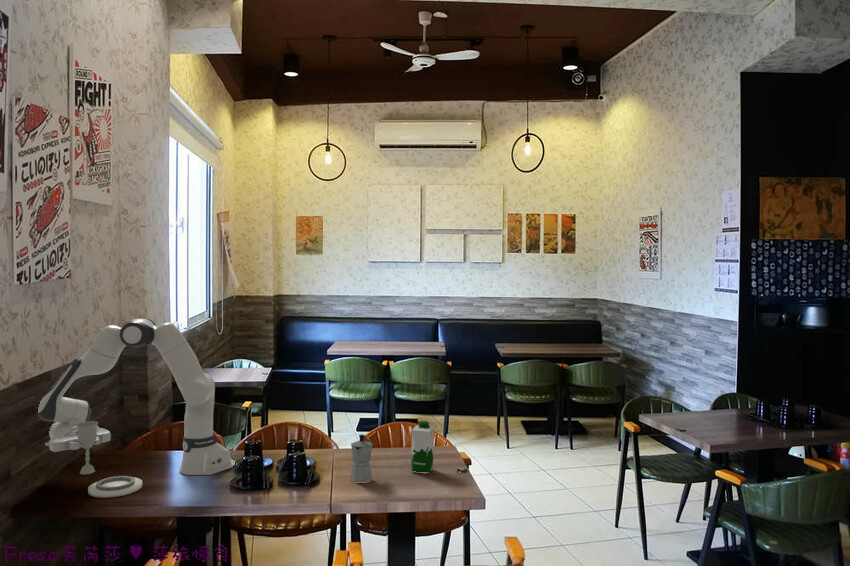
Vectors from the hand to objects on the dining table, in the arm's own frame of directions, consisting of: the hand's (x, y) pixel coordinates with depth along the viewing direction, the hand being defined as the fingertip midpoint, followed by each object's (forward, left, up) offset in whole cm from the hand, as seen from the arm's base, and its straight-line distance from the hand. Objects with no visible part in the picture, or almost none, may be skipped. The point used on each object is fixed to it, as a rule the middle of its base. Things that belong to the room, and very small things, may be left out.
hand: (88, 444), depth 225 cm
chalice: (0, -1, -11) cm, 11 cm away
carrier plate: (-8, +5, -17) cm, 20 cm away
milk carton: (-102, +75, -18) cm, 128 cm away
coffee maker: (-78, +64, -18) cm, 102 cm away
